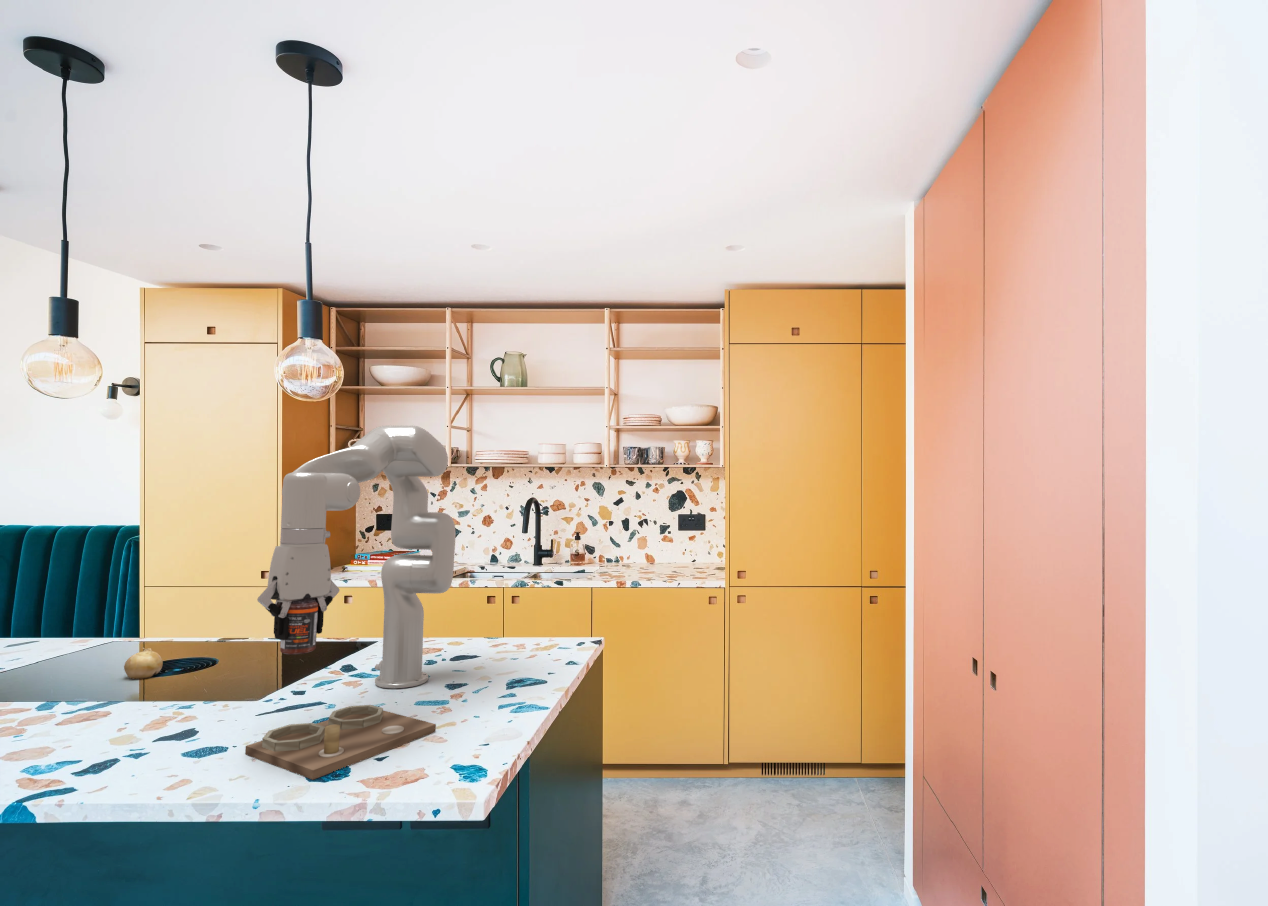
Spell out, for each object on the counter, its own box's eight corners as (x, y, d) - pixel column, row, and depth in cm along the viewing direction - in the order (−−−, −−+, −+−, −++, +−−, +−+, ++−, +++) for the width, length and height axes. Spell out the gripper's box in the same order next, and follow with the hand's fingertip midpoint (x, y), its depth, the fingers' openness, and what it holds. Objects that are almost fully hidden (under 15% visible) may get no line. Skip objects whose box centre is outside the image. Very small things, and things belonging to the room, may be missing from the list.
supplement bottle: (279, 656, 117) (282, 592, 117) (280, 649, 122) (283, 588, 123) (316, 653, 119) (319, 591, 120) (315, 646, 125) (318, 587, 125)
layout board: (245, 754, 117) (246, 720, 117) (369, 714, 139) (370, 685, 140) (312, 779, 107) (314, 742, 107) (435, 731, 129) (436, 700, 129)
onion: (167, 676, 167) (169, 647, 168) (131, 683, 161) (133, 653, 161) (154, 671, 172) (155, 643, 172) (117, 678, 165) (119, 649, 166)
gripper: (332, 535, 132) (328, 626, 130) (245, 539, 117) (239, 641, 115) (356, 536, 128) (352, 630, 126) (269, 541, 113) (263, 647, 112)
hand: (298, 634), depth 121 cm, fingers closed on supplement bottle, 5 cm apart
